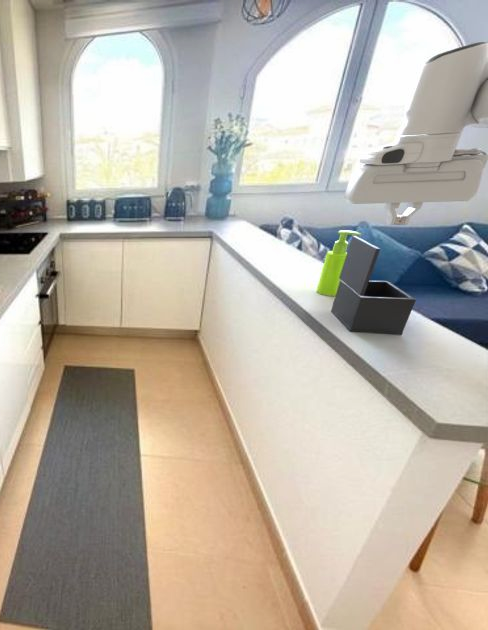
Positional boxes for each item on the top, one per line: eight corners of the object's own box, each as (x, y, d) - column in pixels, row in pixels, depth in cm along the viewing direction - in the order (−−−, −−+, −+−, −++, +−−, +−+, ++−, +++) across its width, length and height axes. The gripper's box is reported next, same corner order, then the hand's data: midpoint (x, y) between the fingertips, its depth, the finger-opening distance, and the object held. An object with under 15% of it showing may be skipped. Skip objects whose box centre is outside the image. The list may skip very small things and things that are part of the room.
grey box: (376, 313, 97) (388, 281, 93) (401, 334, 86) (416, 299, 82) (330, 311, 100) (340, 279, 96) (349, 331, 89) (361, 297, 85)
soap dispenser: (339, 298, 107) (359, 234, 99) (314, 292, 112) (330, 231, 104) (344, 292, 111) (363, 230, 102) (319, 287, 116) (335, 228, 107)
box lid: (355, 235, 90) (352, 235, 91) (380, 248, 80) (376, 248, 80) (342, 278, 96) (338, 278, 96) (363, 295, 85) (359, 295, 85)
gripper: (479, 147, 65) (448, 220, 71) (351, 154, 71) (333, 222, 77) (506, 147, 60) (471, 227, 66) (366, 155, 65) (345, 228, 71)
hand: (396, 224), depth 71 cm, fingers closed
